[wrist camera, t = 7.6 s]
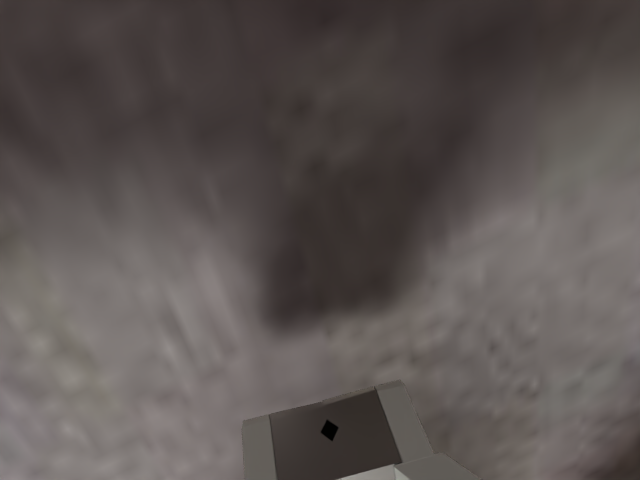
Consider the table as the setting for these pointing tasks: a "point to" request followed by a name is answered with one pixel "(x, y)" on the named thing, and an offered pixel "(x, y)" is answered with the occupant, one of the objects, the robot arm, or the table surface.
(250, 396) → the table surface
